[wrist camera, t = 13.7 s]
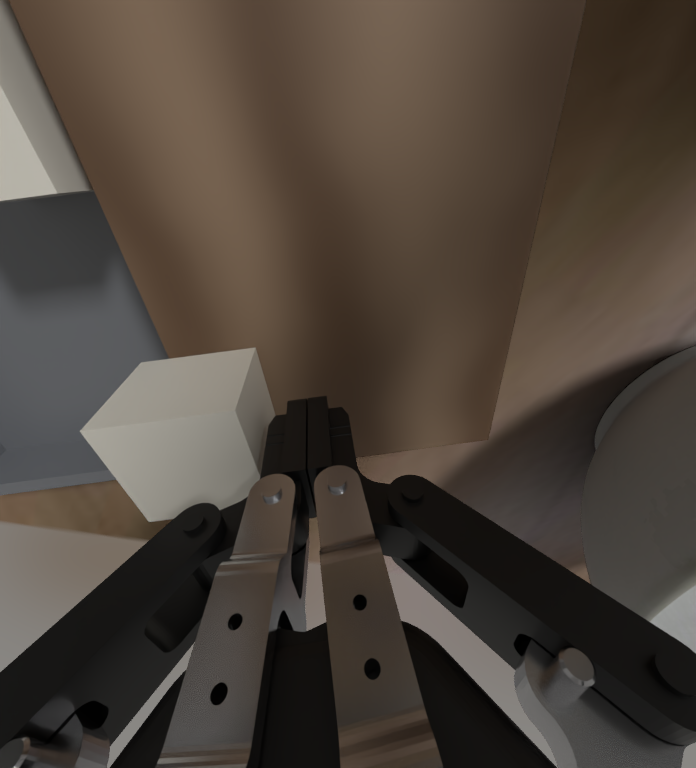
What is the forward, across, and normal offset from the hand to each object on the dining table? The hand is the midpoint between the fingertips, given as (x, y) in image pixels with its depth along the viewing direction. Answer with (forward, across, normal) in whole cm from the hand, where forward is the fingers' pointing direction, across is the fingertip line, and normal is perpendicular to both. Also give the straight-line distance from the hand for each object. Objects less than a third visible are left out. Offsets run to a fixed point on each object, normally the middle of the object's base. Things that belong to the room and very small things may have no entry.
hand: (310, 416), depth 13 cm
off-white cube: (+2, +4, 0) cm, 4 cm away
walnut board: (+7, -2, -5) cm, 9 cm away
